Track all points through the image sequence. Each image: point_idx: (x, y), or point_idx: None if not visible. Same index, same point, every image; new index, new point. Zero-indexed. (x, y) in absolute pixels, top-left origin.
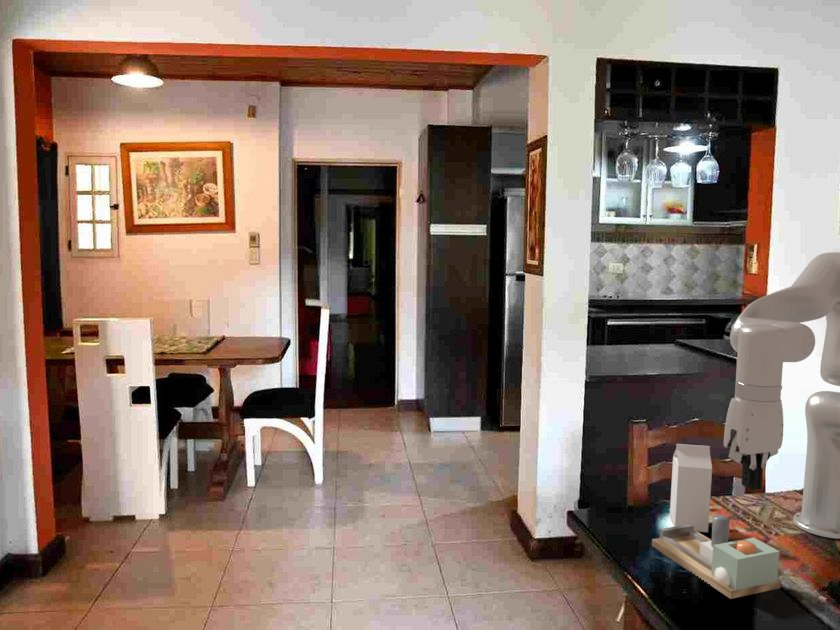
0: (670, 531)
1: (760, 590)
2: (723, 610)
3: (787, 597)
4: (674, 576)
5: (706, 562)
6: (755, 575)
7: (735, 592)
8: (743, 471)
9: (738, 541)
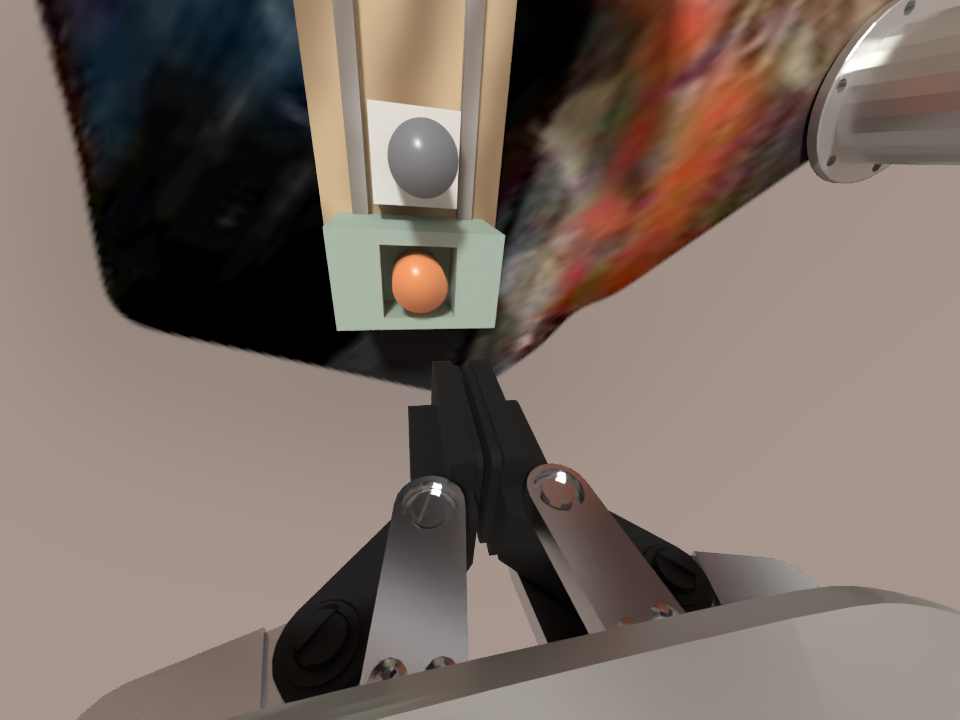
0: None
1: None
2: (285, 319)
3: None
4: (243, 133)
5: (354, 164)
6: None
7: None
8: (410, 464)
9: (412, 262)
